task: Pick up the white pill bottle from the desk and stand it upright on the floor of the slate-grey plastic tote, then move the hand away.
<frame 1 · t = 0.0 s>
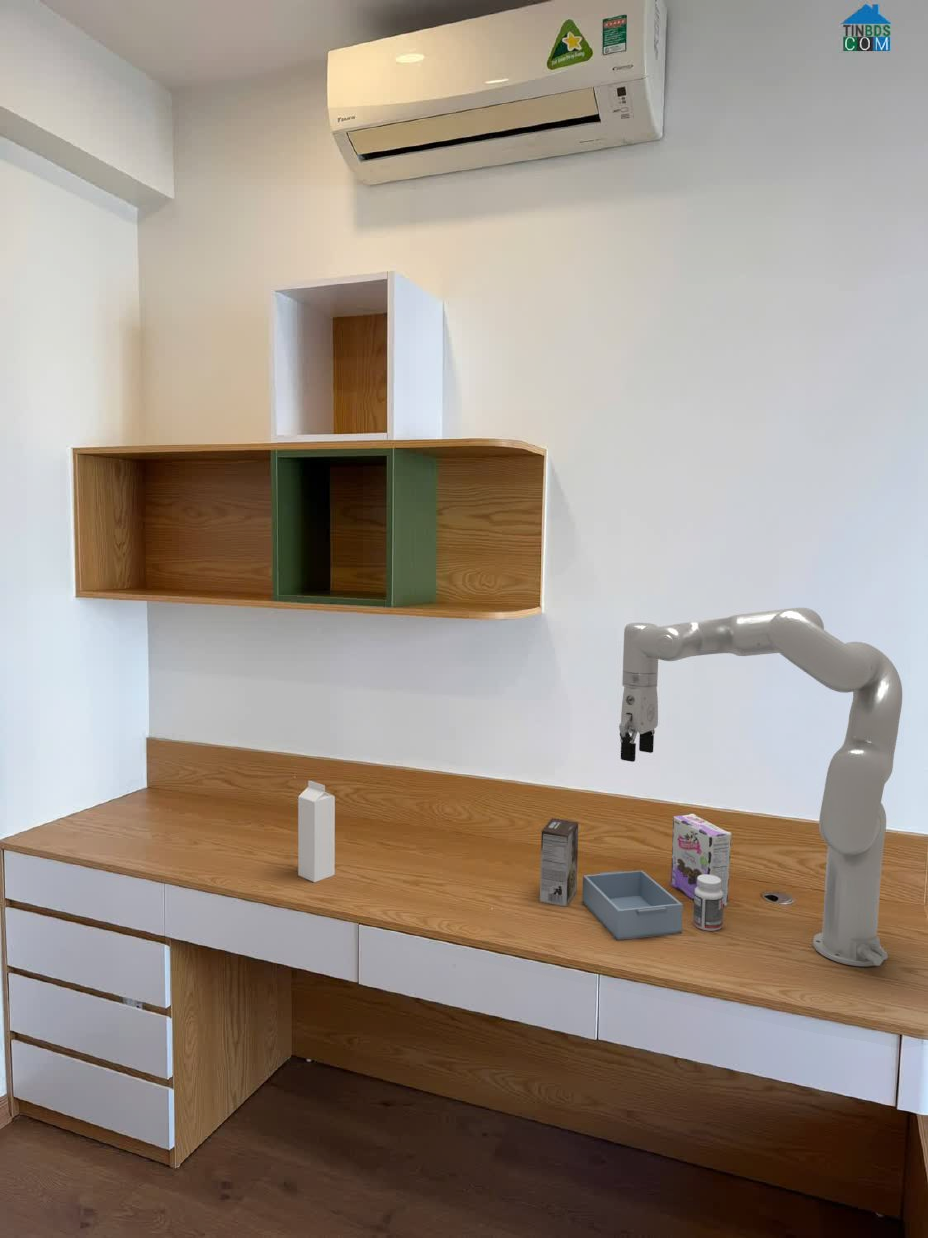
hand: (637, 756, 186), 31 cm above the table, tool pointing down, fingers open, 9 cm apart
pill bottle: (707, 926, 173), on the table
tote: (629, 917, 177), on the table
coffee box: (558, 897, 186), on the table
candy box: (698, 896, 188), on the table
milk: (316, 876, 196), on the table
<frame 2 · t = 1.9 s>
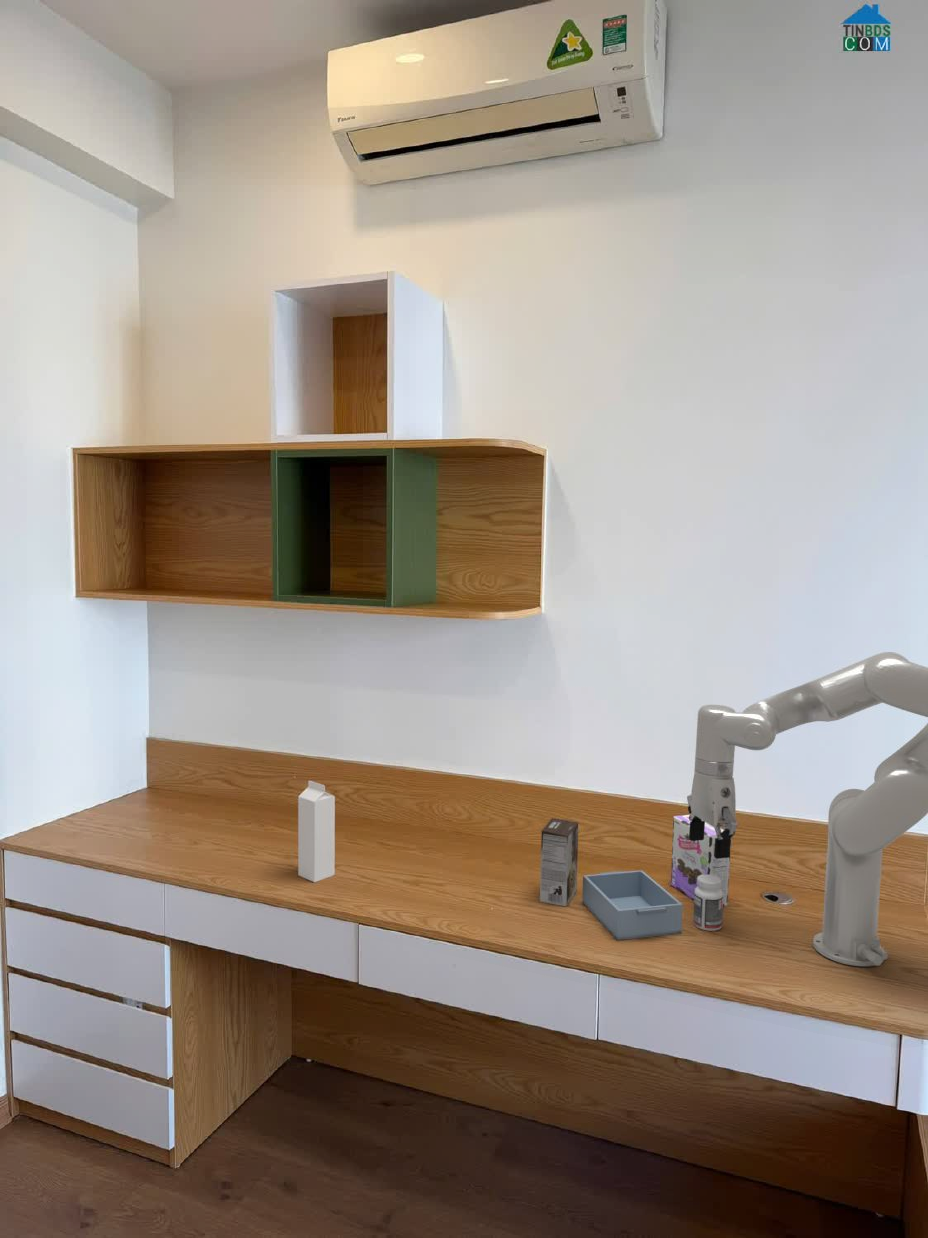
hand: (708, 848, 172), 16 cm above the table, tool pointing down, fingers open, 9 cm apart
nothing on the table moved.
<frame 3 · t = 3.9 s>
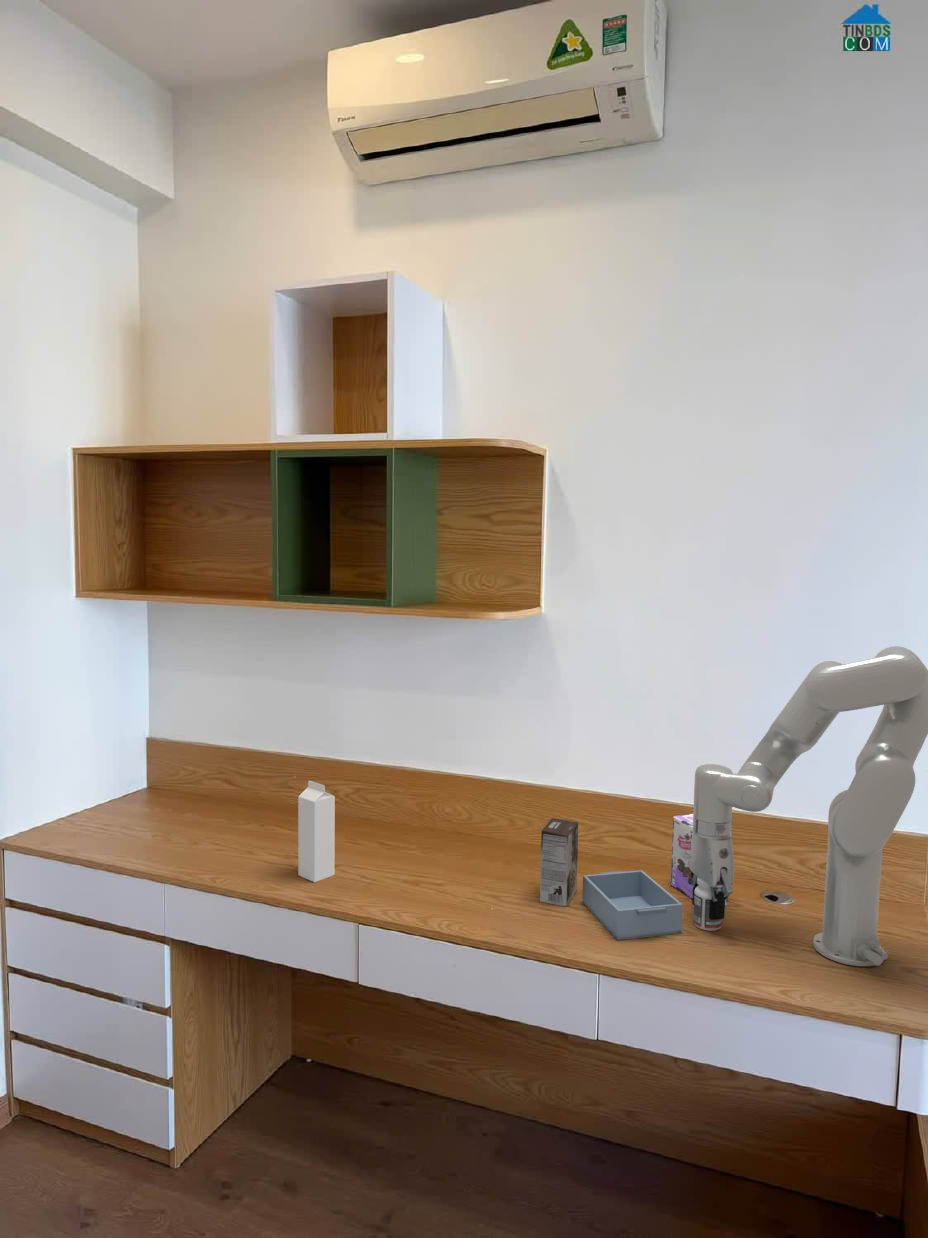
hand: (708, 911, 173), 3 cm above the table, tool pointing down, fingers closed on pill bottle, 5 cm apart
pill bottle: (707, 926, 173), on the table, touching gripper
everything else where it was.
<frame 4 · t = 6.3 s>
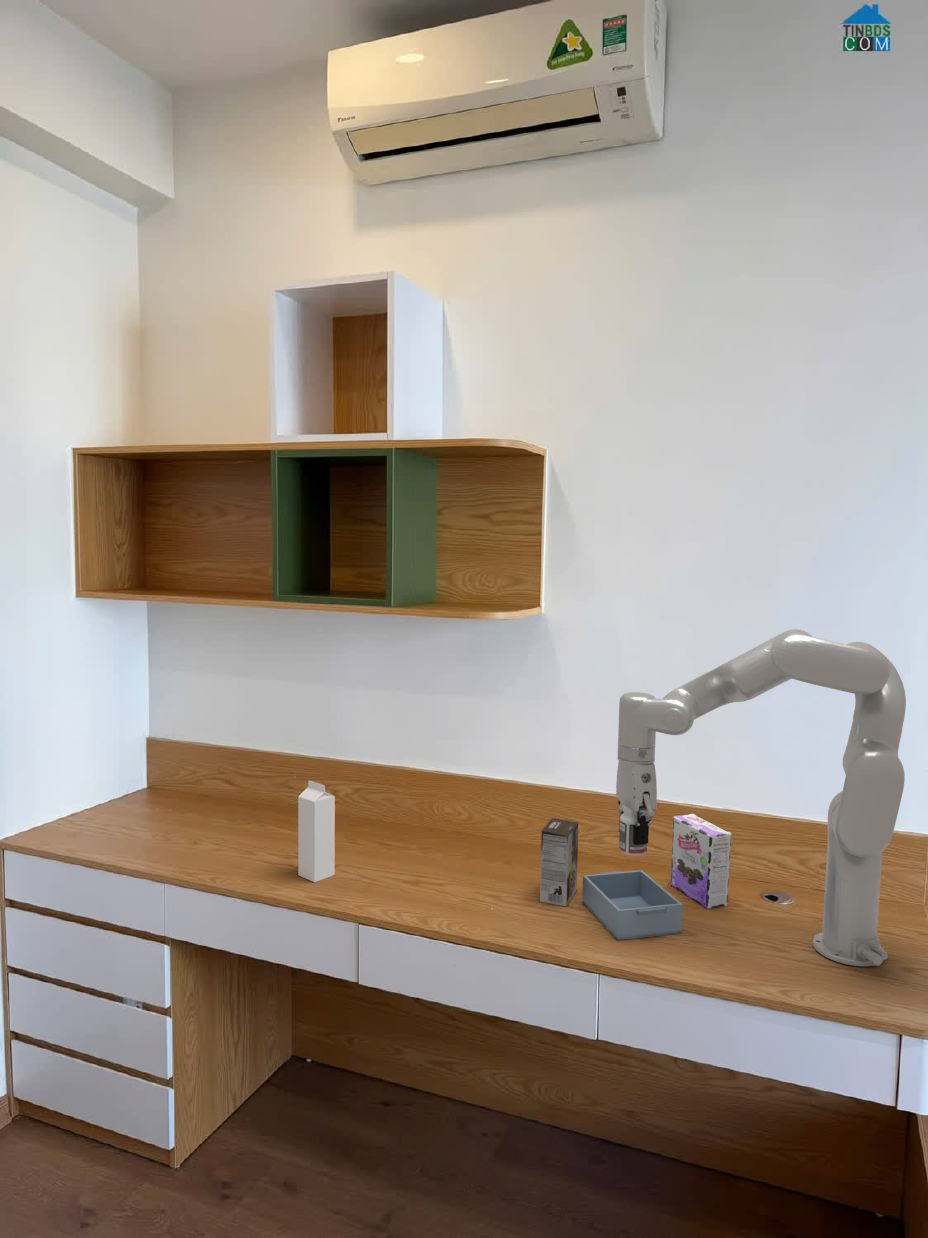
hand: (633, 837, 175), 17 cm above the table, tool pointing down, fingers closed on pill bottle, 5 cm apart
pill bottle: (632, 852, 175), point 14 cm above the table, touching gripper
everything else where it was.
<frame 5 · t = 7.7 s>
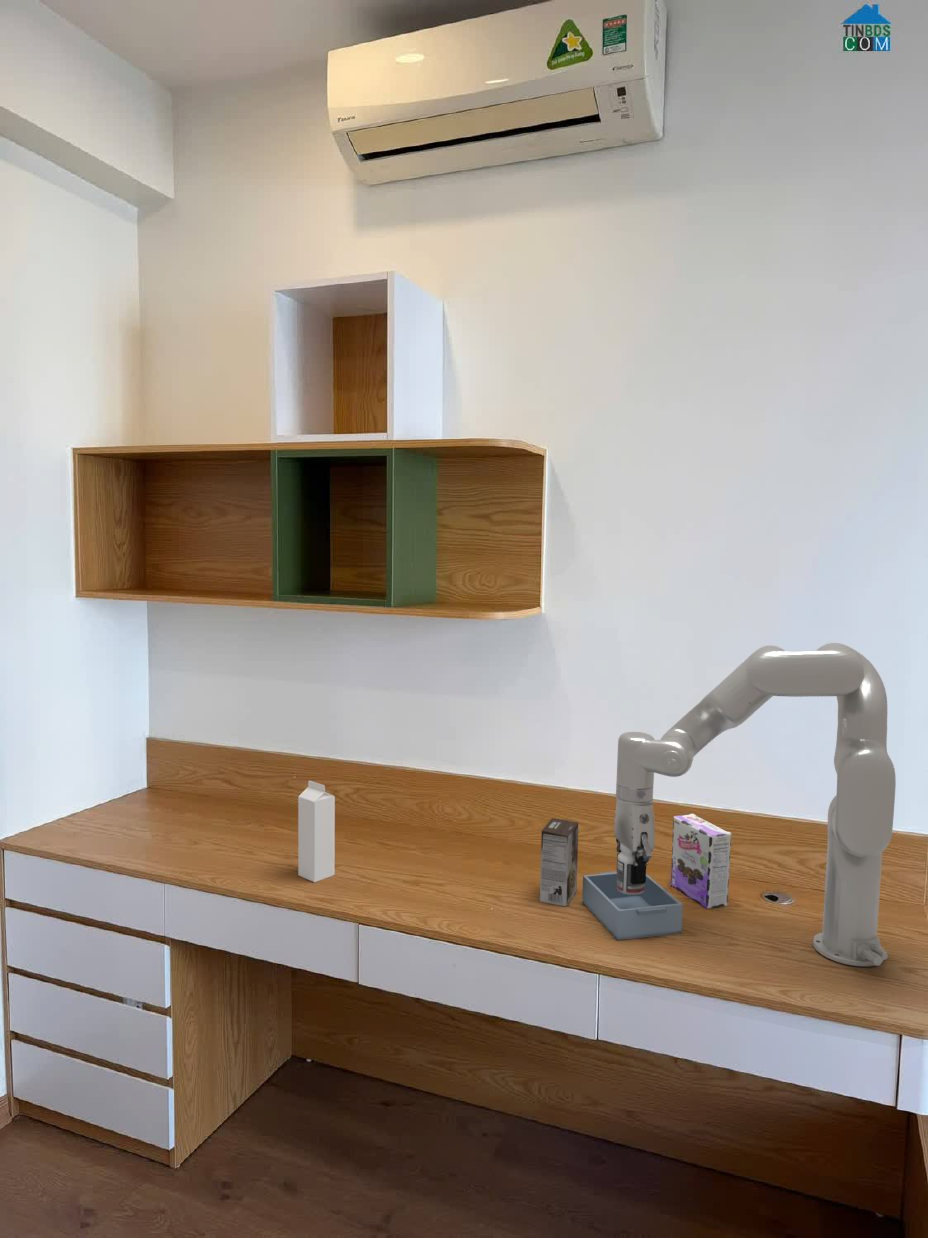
hand: (630, 876, 176), 9 cm above the table, tool pointing down, fingers closed on pill bottle, 5 cm apart
pill bottle: (630, 891, 176), point 6 cm above the table, touching gripper
everything else where it was.
when the fingers open (4 cm above the table, at t = 9.0 s): pill bottle stays where it is, resting on tote.
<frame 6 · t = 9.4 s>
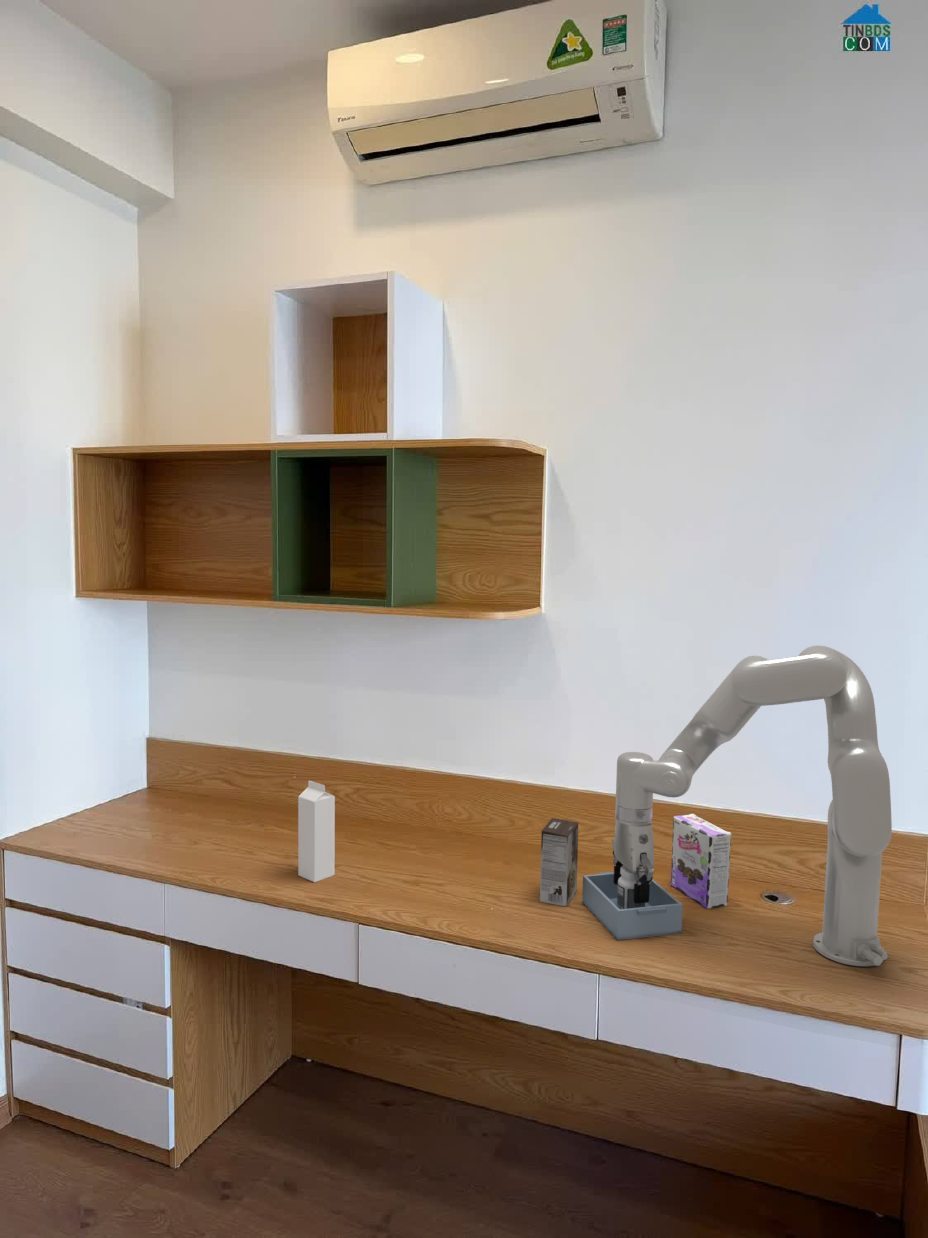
hand: (630, 892, 176), 5 cm above the table, tool pointing down, fingers open, 9 cm apart
pill bottle: (630, 915, 177), resting on tote
everything else where it was.
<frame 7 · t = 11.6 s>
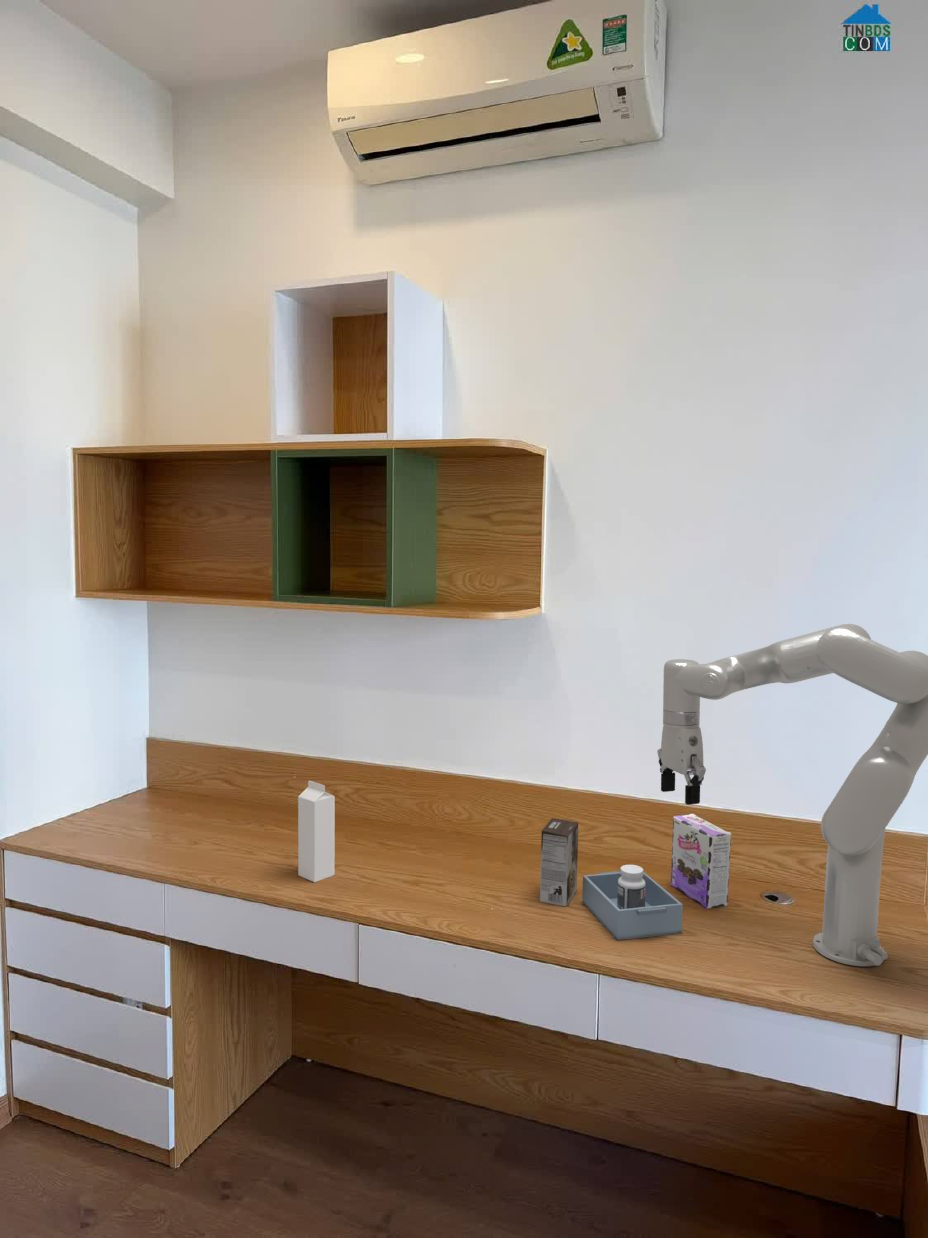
hand: (679, 797, 180), 24 cm above the table, tool pointing down, fingers open, 9 cm apart
nothing on the table moved.
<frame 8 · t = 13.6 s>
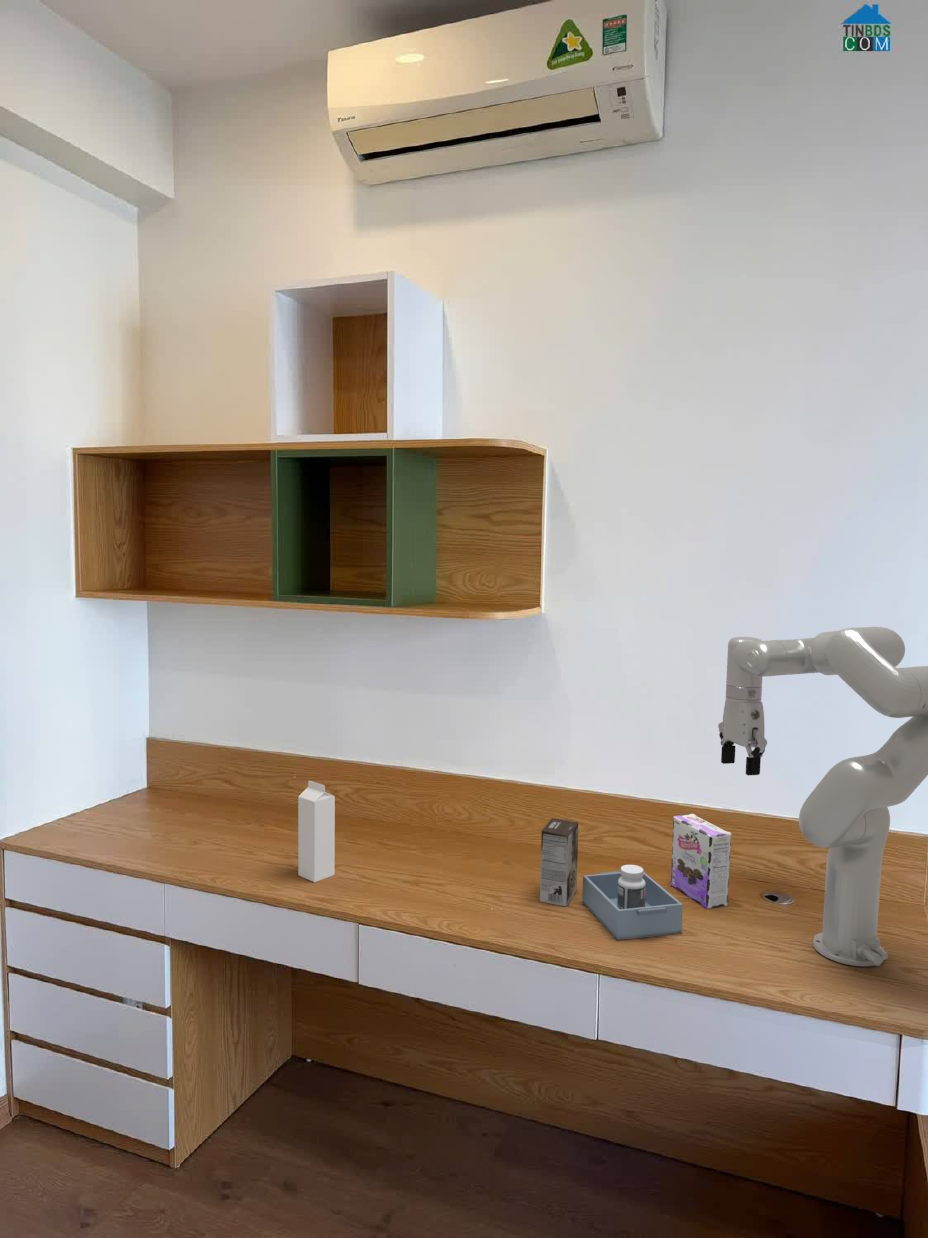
hand: (739, 768, 188), 28 cm above the table, tool pointing down, fingers open, 9 cm apart
nothing on the table moved.
at the end: pill bottle inside the target area on the tote (0.2 cm from its centre), point 0.3 cm above the tote's base; pill bottle tilted 0°; the gripper is holding nothing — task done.
